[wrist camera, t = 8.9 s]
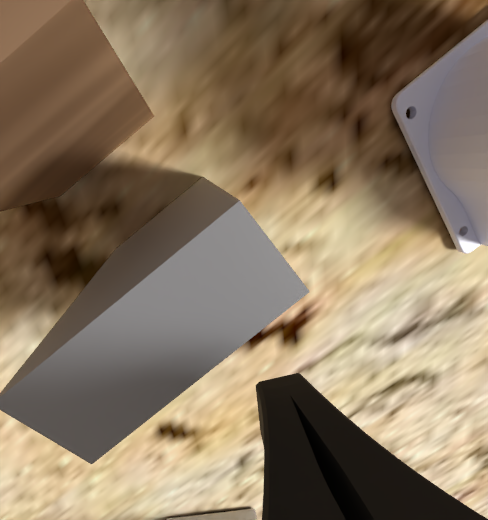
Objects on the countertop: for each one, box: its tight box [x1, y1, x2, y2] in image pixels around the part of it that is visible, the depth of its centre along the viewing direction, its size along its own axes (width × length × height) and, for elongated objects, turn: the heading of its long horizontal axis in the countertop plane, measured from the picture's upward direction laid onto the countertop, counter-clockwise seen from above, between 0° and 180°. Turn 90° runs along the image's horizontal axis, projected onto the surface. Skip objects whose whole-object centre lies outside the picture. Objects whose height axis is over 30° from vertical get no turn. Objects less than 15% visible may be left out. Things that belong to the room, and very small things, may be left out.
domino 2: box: [0, 177, 309, 464], centre depth 9 cm, size 2×5×9 cm, turn 127°
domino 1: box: [0, 0, 154, 211], centre depth 7 cm, size 2×5×9 cm, turn 128°
